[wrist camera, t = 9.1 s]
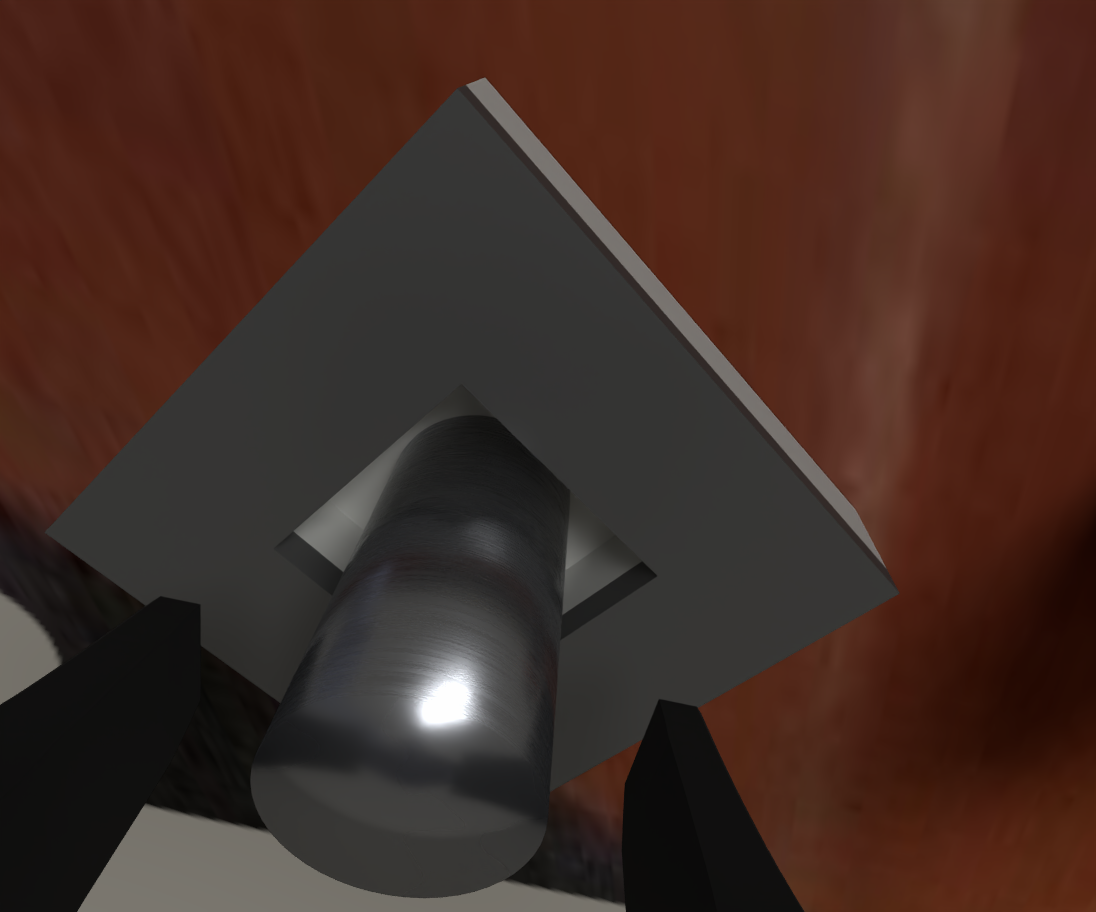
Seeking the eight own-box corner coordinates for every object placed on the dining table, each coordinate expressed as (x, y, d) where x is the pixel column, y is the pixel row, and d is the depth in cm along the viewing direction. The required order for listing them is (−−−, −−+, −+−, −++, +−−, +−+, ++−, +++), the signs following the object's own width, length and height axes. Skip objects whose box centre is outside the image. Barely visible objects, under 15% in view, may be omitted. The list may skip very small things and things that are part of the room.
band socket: (125, 460, 18) (44, 532, 16) (485, 77, 14) (457, 88, 11) (483, 742, 22) (467, 838, 19) (855, 510, 18) (899, 593, 15)
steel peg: (356, 487, 18) (191, 789, 11) (480, 378, 16) (386, 645, 9) (481, 596, 19) (408, 930, 12) (607, 504, 17) (610, 823, 10)
